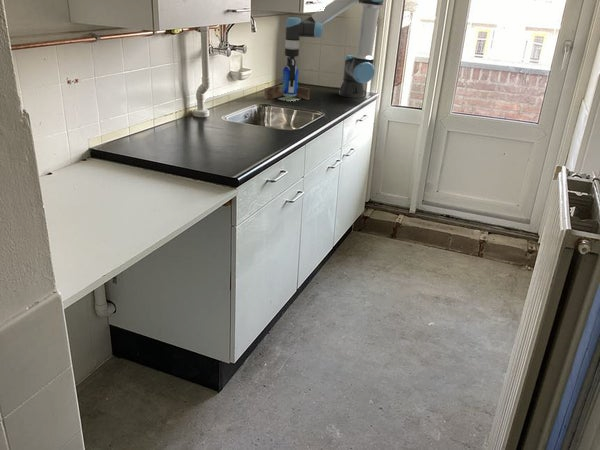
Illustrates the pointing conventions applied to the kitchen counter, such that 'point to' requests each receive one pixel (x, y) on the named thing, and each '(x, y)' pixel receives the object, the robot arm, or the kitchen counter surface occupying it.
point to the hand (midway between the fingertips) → (289, 90)
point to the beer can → (286, 83)
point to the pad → (289, 98)
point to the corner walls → (277, 92)
